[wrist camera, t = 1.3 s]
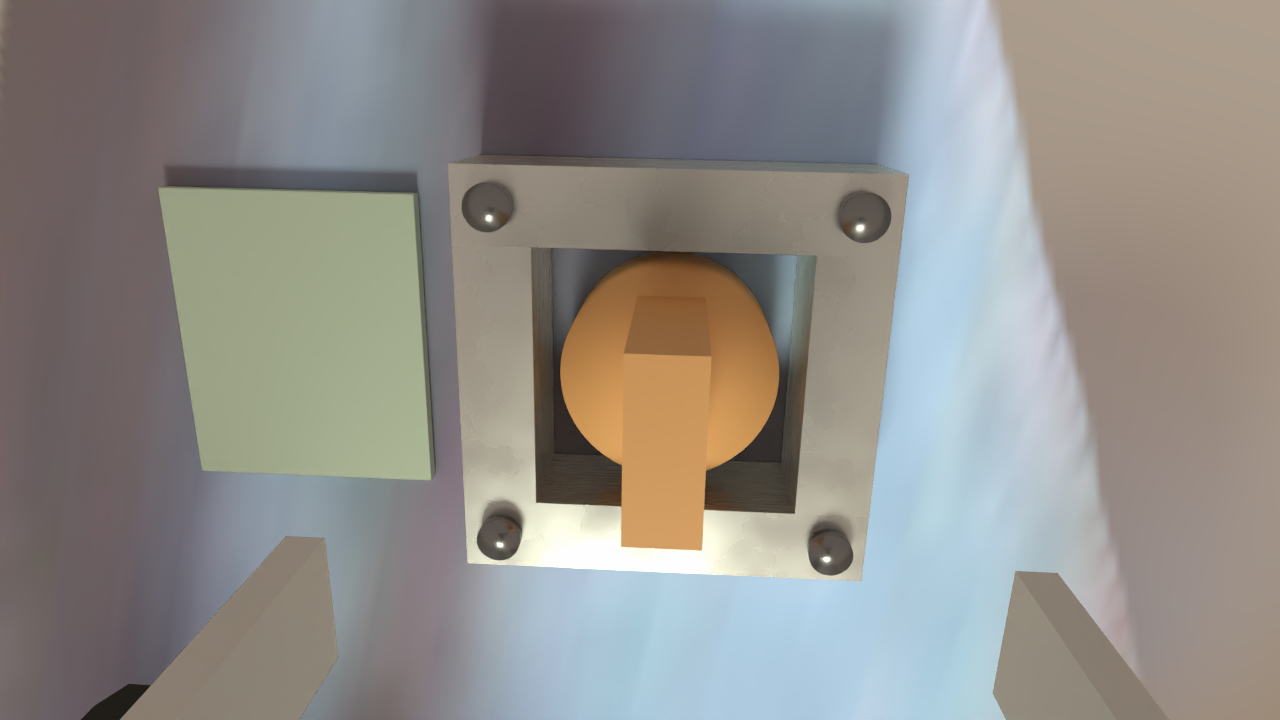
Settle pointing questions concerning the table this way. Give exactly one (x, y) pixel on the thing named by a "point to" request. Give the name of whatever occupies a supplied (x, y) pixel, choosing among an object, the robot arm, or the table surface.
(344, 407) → the mat
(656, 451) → the orange stamp
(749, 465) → the housing
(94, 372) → the table surface
